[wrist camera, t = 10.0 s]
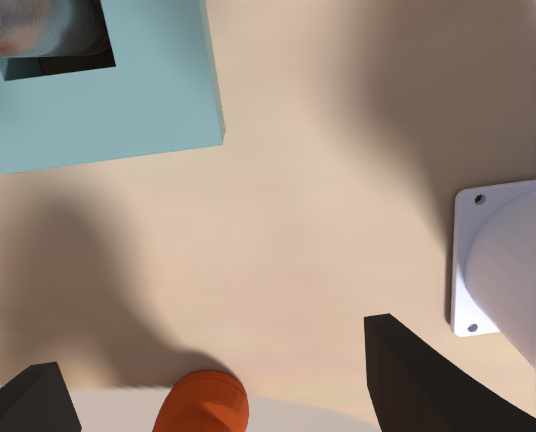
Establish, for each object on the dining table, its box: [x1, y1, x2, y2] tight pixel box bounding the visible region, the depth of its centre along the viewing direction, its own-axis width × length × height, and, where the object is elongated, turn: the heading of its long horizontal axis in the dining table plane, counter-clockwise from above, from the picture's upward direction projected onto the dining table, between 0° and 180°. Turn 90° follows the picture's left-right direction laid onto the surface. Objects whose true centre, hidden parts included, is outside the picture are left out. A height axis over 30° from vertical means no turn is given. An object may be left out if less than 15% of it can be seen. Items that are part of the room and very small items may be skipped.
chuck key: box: [0, 0, 111, 58], centre depth 12 cm, size 3×3×10 cm
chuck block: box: [0, 0, 225, 174], centre depth 15 cm, size 10×10×3 cm
